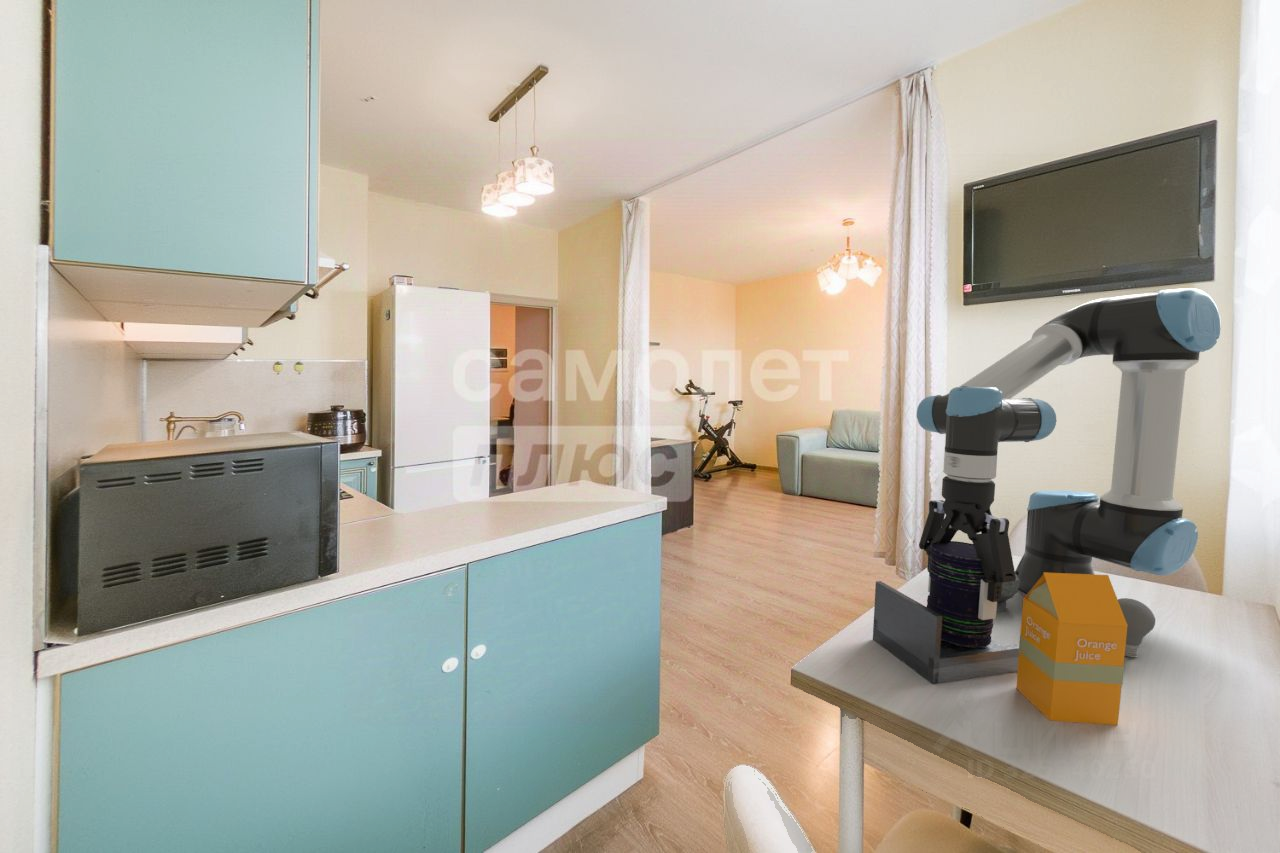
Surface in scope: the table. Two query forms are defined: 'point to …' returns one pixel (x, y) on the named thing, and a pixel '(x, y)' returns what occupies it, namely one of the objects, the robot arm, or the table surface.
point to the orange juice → (1073, 648)
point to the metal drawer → (932, 641)
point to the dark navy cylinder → (958, 593)
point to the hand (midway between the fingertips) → (959, 604)
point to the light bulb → (1136, 623)
